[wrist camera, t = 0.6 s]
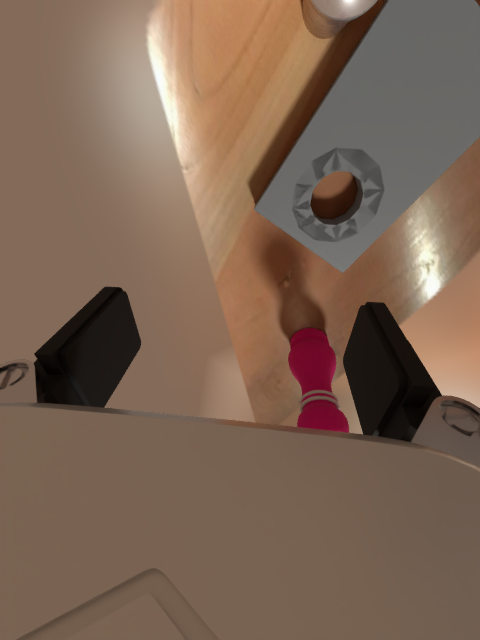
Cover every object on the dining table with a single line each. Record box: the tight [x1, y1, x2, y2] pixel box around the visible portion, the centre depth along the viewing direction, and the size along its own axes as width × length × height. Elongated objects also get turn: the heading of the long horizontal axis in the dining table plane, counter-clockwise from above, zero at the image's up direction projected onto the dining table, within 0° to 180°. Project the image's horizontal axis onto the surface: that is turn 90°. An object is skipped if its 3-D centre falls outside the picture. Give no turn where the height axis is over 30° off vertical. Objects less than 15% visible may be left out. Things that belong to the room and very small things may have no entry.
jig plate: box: [254, 0, 480, 273], centre depth 27 cm, size 22×14×2 cm, turn 148°
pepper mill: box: [288, 328, 349, 433], centre depth 37 cm, size 7×7×20 cm
